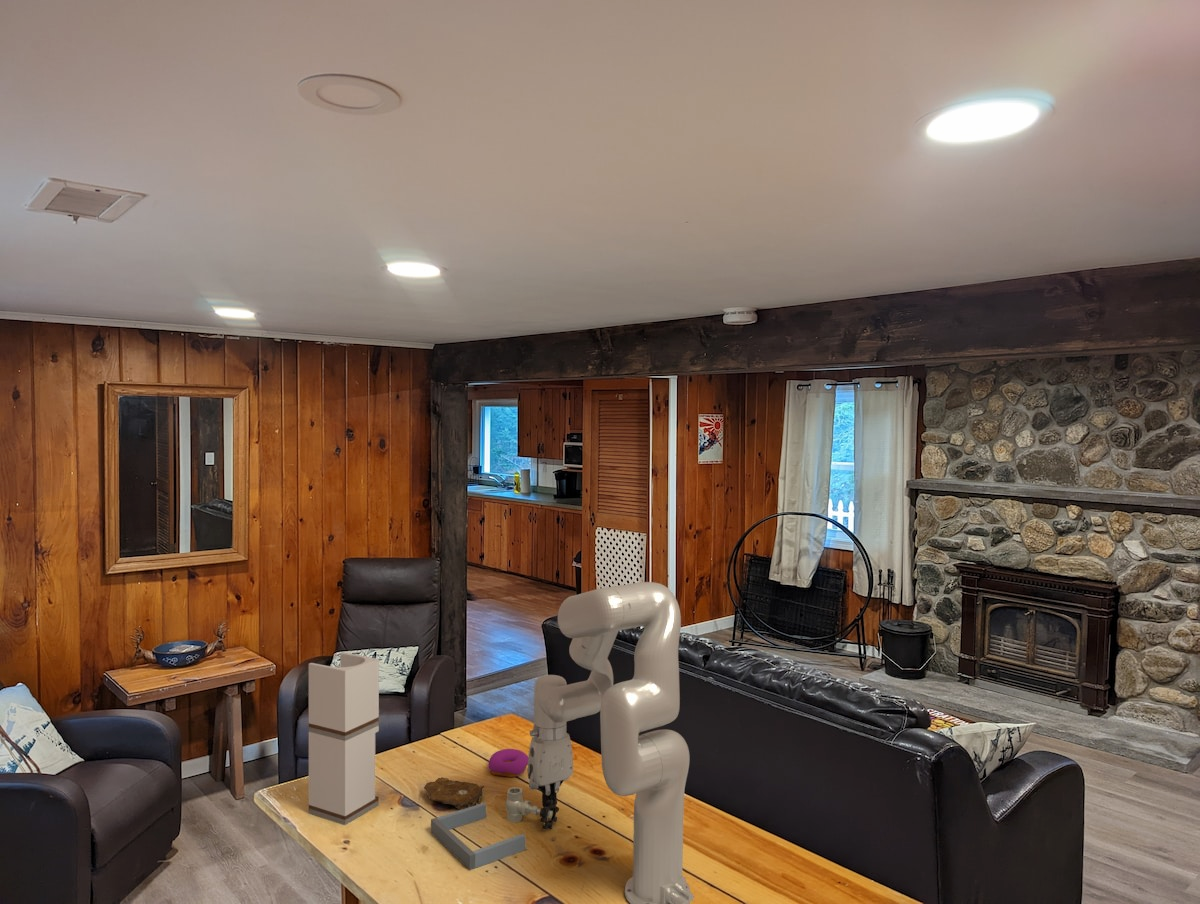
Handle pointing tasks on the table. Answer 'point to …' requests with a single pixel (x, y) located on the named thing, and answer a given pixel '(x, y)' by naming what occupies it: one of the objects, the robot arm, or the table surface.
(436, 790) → the decorative rock
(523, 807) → the valve
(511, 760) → the donut
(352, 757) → the banded square pillar
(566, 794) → the table surface
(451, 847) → the dock cradle
